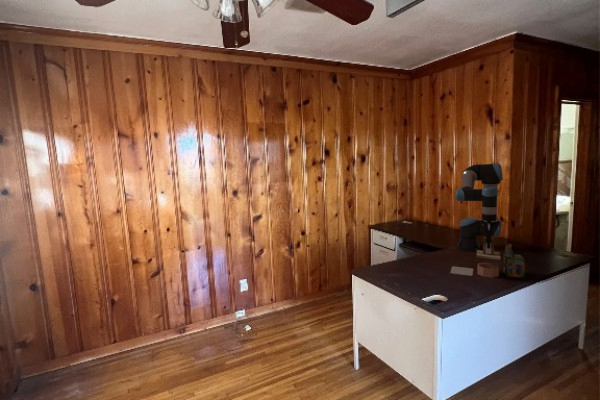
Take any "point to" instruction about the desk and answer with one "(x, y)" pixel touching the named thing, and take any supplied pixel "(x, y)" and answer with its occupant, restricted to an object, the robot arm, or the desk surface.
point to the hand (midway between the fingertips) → (488, 252)
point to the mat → (462, 270)
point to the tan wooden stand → (484, 255)
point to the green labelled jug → (513, 265)
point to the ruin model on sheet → (508, 249)
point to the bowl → (488, 270)
